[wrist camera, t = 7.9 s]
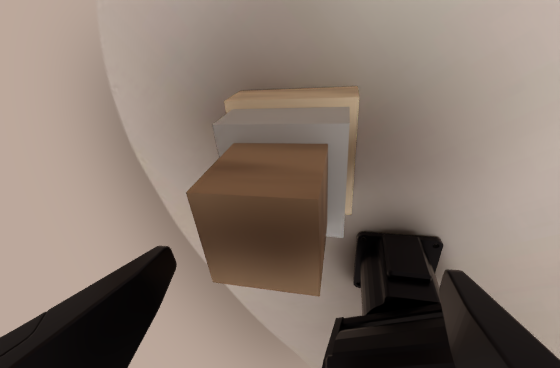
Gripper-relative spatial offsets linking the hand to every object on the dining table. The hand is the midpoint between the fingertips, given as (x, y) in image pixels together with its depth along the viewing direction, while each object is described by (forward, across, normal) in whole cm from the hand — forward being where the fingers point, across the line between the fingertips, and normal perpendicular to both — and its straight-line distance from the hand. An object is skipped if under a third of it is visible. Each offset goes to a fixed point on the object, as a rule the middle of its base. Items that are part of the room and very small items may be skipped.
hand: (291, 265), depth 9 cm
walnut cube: (+6, +2, +1) cm, 7 cm away
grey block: (+10, +2, +1) cm, 10 cm away
